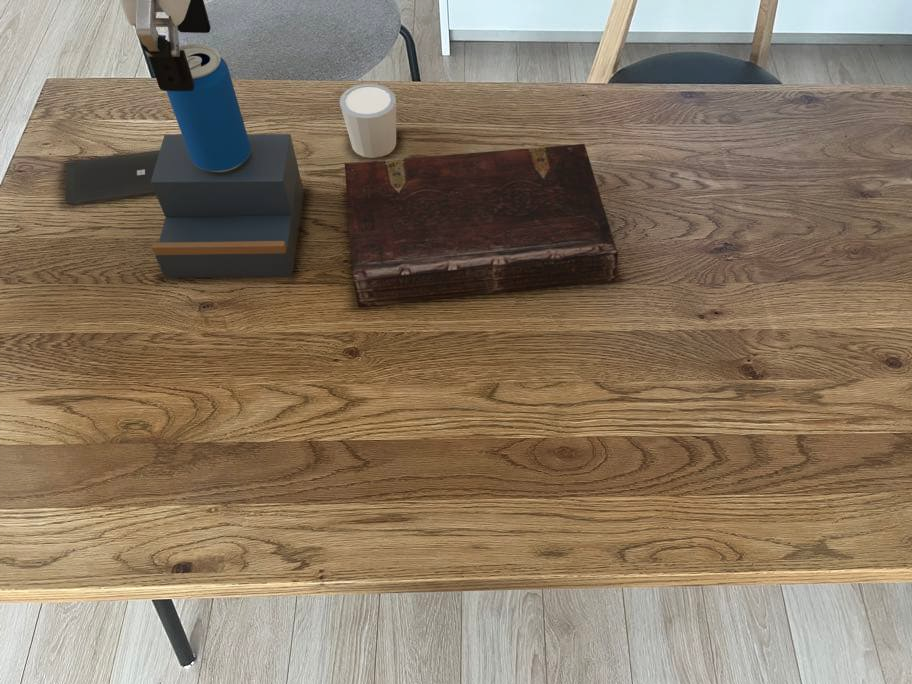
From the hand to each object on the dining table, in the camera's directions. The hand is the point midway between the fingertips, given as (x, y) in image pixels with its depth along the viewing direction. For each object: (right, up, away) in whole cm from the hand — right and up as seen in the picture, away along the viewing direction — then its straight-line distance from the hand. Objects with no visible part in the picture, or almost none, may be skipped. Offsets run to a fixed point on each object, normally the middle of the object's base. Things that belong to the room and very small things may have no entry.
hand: (186, 59), depth 86 cm
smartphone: (-15, -7, +21) cm, 26 cm away
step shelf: (0, -14, +16) cm, 21 cm away
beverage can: (0, -7, +10) cm, 12 cm away
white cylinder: (+14, -1, +26) cm, 29 cm away
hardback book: (+28, -15, +17) cm, 36 cm away
